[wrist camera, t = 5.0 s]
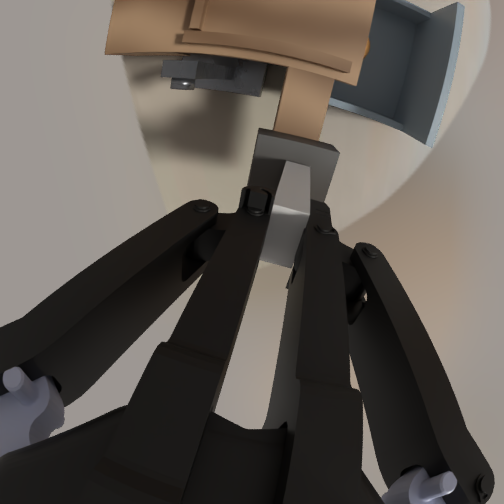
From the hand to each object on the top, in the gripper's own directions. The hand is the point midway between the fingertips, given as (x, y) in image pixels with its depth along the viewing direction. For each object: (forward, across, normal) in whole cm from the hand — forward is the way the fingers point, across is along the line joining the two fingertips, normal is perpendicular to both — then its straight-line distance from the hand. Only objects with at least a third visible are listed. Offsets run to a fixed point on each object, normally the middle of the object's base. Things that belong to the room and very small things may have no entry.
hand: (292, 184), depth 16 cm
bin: (+11, +3, +11) cm, 16 cm away
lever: (+6, -7, +6) cm, 11 cm away
